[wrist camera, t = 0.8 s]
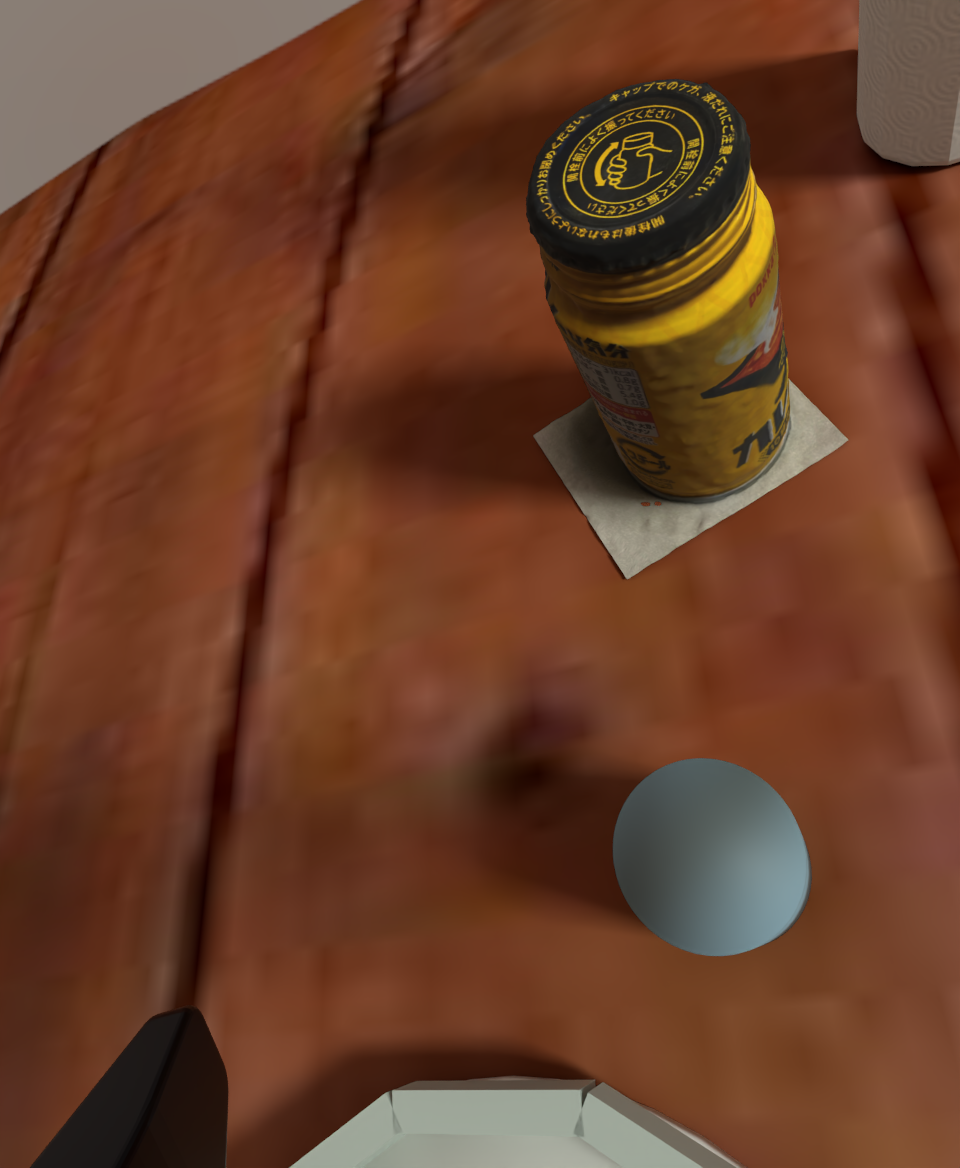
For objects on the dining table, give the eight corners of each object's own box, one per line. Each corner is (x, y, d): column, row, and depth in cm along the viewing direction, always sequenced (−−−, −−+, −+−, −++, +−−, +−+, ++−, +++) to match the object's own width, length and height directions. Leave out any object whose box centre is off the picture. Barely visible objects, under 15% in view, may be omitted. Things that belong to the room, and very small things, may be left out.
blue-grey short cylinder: (848, 885, 21) (851, 877, 17) (720, 982, 22) (692, 997, 18) (737, 757, 24) (715, 722, 20) (623, 846, 24) (577, 831, 20)
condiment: (848, 443, 26) (856, 136, 16) (628, 581, 27) (503, 380, 17) (724, 313, 30) (666, -4, 20) (535, 440, 31) (387, 205, 21)
